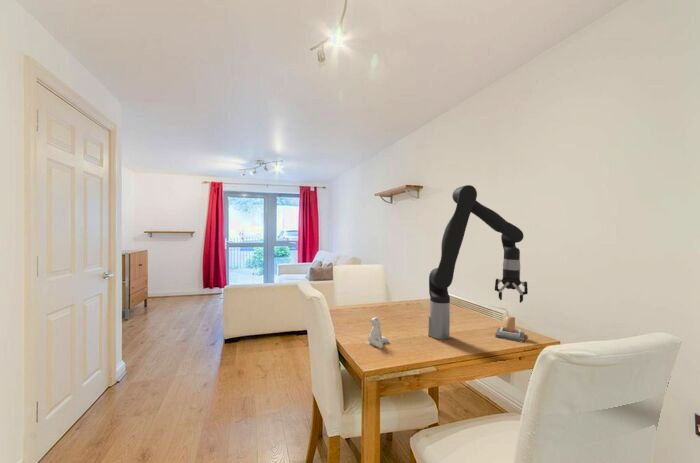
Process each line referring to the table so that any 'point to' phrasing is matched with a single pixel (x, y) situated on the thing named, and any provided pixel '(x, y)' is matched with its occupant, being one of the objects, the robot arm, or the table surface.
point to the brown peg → (510, 324)
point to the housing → (510, 334)
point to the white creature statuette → (376, 334)
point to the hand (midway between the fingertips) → (510, 301)
